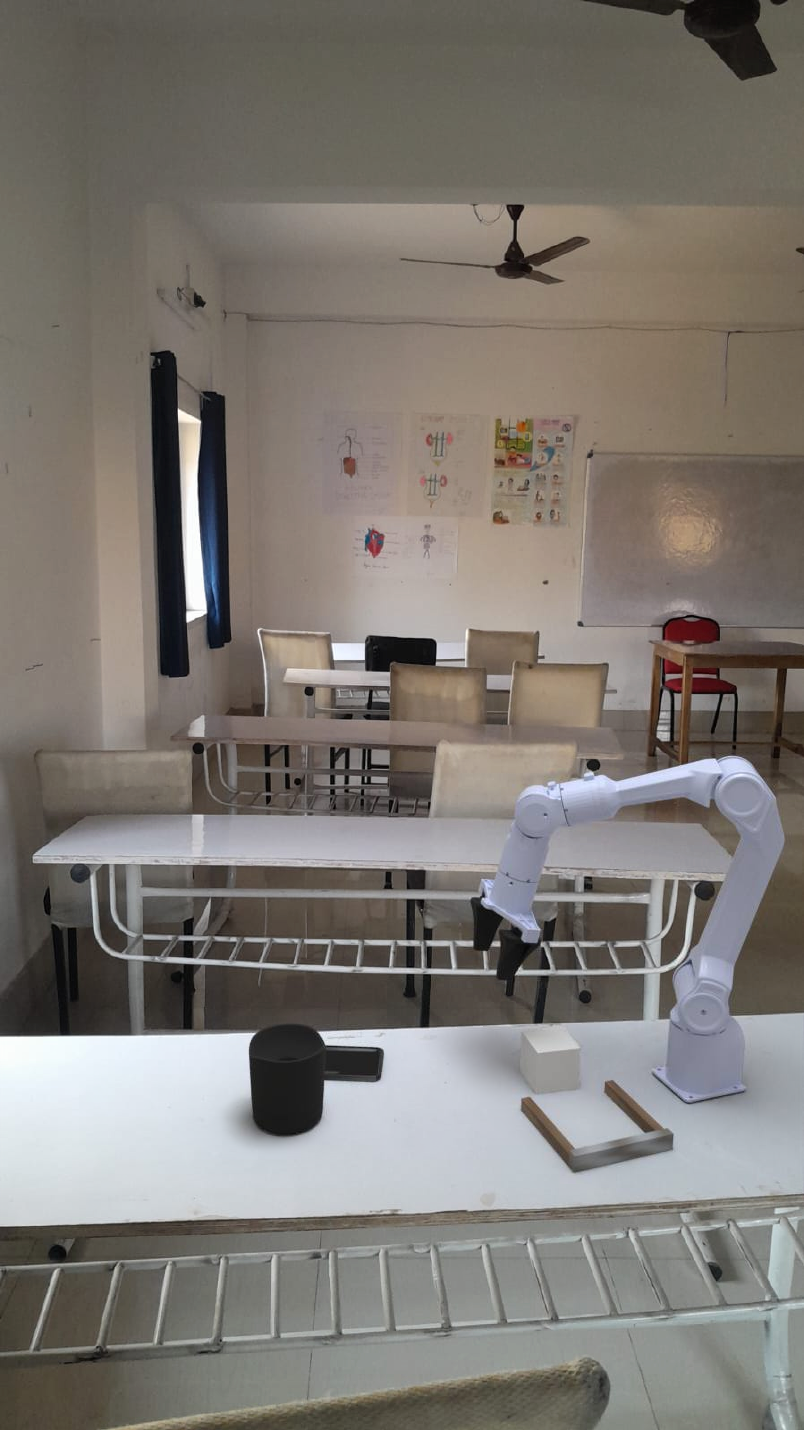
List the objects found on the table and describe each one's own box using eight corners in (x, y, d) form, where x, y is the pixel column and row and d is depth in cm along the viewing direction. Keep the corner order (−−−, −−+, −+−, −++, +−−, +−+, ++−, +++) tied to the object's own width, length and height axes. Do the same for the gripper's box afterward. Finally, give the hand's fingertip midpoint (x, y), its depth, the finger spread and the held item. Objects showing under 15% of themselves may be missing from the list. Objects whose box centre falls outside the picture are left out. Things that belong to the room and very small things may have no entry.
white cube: (578, 1090, 127) (580, 1048, 126) (535, 1095, 126) (537, 1053, 125) (560, 1066, 133) (562, 1025, 132) (519, 1071, 132) (521, 1030, 131)
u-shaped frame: (612, 1090, 127) (613, 1076, 127) (672, 1149, 115) (673, 1133, 115) (520, 1109, 123) (521, 1094, 122) (573, 1172, 110) (574, 1156, 110)
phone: (278, 1043, 136) (384, 1047, 136) (278, 1050, 137) (384, 1054, 136) (268, 1073, 129) (380, 1077, 128) (268, 1081, 129) (380, 1085, 128)
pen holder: (339, 1106, 123) (339, 1033, 121) (301, 1147, 114) (300, 1069, 112) (275, 1088, 126) (275, 1017, 125) (234, 1126, 118) (233, 1051, 116)
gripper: (470, 848, 134) (445, 935, 137) (517, 896, 121) (488, 992, 124) (514, 852, 137) (489, 938, 140) (564, 900, 124) (535, 993, 127)
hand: (491, 964), depth 132 cm, fingers open, 7 cm apart
